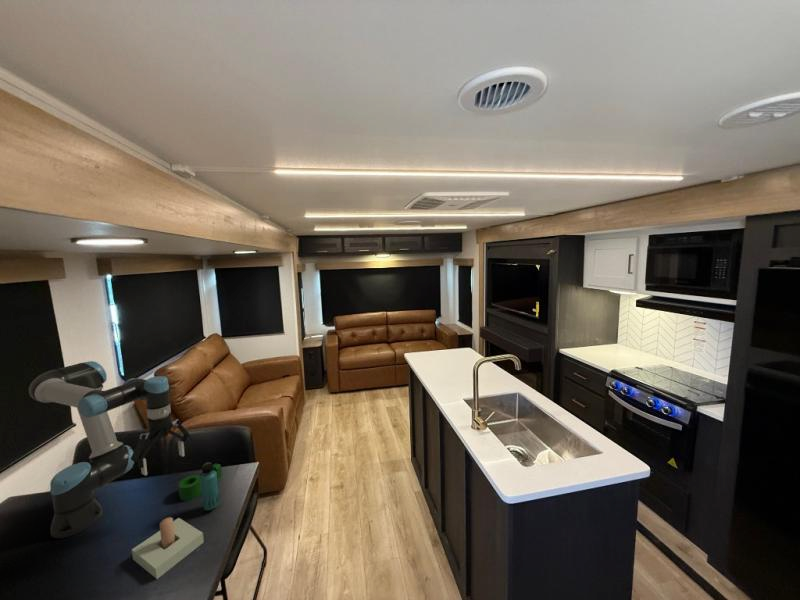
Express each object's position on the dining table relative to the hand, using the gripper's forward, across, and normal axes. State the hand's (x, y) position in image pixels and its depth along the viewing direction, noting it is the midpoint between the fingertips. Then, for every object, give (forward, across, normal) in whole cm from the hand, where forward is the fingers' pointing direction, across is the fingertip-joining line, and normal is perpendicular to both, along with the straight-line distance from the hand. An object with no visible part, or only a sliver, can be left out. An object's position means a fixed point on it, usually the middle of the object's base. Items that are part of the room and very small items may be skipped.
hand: (164, 464), depth 130 cm
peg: (+25, -8, -16) cm, 31 cm away
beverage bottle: (+25, +12, -10) cm, 30 cm away
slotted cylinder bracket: (+26, +17, +8) cm, 32 cm away
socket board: (+25, -8, -16) cm, 31 cm away
